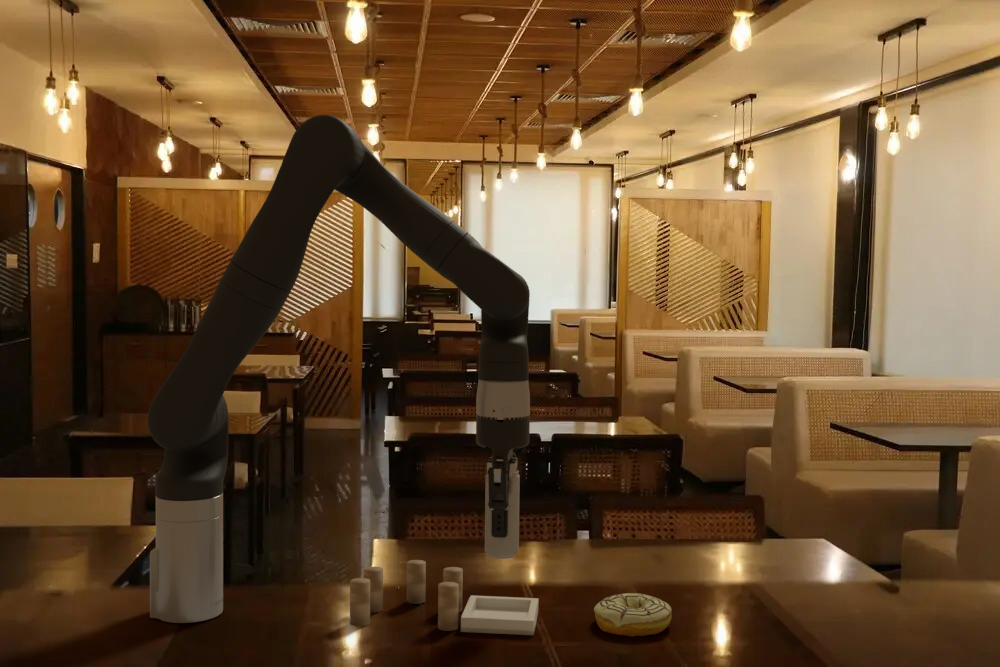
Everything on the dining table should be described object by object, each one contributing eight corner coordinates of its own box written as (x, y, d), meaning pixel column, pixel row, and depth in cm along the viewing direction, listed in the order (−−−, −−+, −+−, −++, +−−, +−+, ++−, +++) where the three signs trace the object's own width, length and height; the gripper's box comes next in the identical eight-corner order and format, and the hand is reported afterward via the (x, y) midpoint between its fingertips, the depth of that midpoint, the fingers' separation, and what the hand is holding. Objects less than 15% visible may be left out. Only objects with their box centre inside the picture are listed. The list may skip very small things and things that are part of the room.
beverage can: (515, 560, 141) (516, 474, 140) (481, 558, 142) (482, 473, 141) (521, 551, 145) (522, 468, 145) (488, 549, 146) (489, 466, 146)
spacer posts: (347, 625, 141) (347, 583, 141) (369, 596, 154) (370, 557, 154) (456, 631, 140) (457, 588, 139) (469, 601, 153) (469, 562, 153)
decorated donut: (580, 620, 146) (581, 594, 146) (645, 611, 150) (645, 586, 150) (617, 644, 136) (618, 616, 136) (685, 634, 140) (685, 607, 140)
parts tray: (460, 631, 140) (461, 617, 139) (470, 608, 149) (470, 595, 149) (533, 635, 138) (533, 620, 138) (538, 611, 148) (538, 598, 148)
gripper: (482, 405, 150) (481, 519, 151) (469, 417, 136) (468, 544, 137) (533, 406, 149) (531, 521, 150) (525, 419, 135) (524, 546, 136)
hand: (501, 531), depth 143 cm, fingers closed on beverage can, 4 cm apart
